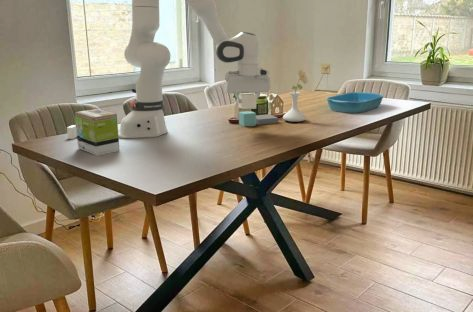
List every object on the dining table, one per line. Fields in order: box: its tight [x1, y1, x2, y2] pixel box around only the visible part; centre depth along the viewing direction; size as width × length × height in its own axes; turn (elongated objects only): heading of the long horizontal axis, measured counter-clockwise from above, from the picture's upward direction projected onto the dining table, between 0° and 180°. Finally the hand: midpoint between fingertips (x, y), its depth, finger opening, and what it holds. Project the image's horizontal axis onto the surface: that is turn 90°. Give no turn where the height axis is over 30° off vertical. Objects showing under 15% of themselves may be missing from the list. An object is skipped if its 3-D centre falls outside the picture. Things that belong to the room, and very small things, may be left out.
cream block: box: [237, 93, 257, 110], centre depth 213 cm, size 6×6×6 cm
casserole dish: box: [326, 91, 384, 114], centre depth 266 cm, size 37×22×7 cm, turn 138°
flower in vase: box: [282, 68, 309, 123], centre depth 233 cm, size 13×11×25 cm
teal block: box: [238, 110, 257, 128], centre depth 227 cm, size 6×6×6 cm
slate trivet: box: [256, 113, 279, 125], centre depth 234 cm, size 10×10×2 cm
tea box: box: [74, 108, 121, 157], centre depth 183 cm, size 15×10×15 cm, turn 45°
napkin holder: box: [66, 123, 77, 140], centre depth 209 cm, size 15×11×6 cm
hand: (247, 102), depth 213 cm, fingers closed on cream block, 6 cm apart
